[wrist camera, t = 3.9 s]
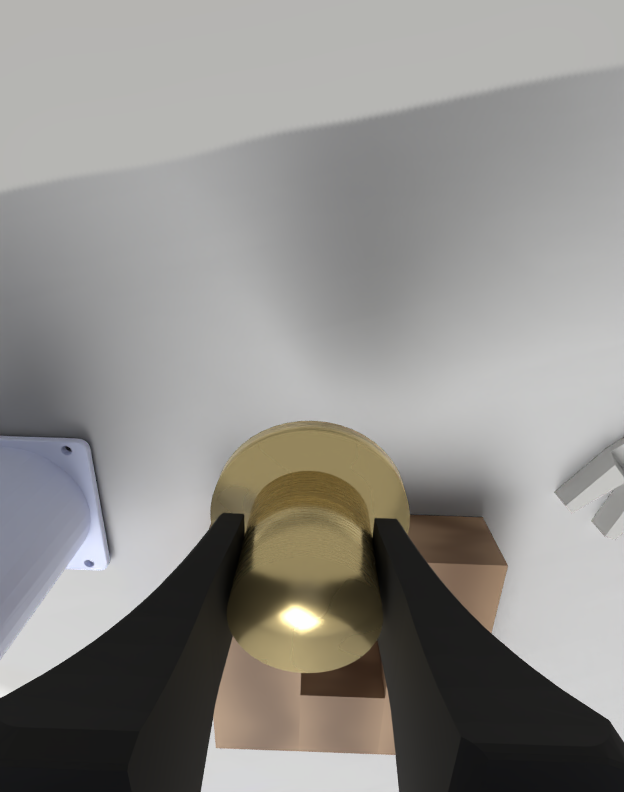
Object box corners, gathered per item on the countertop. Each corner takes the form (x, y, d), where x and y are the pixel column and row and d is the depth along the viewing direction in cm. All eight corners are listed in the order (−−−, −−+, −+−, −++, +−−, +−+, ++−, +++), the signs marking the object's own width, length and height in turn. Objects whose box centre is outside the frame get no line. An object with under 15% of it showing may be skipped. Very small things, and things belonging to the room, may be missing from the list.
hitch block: (227, 688, 29) (216, 748, 26) (216, 508, 24) (200, 554, 21) (445, 696, 29) (460, 757, 26) (482, 517, 24) (508, 565, 21)
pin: (236, 519, 18) (184, 699, 12) (231, 381, 16) (162, 505, 9) (384, 526, 18) (419, 711, 12) (400, 387, 16) (454, 517, 9)
